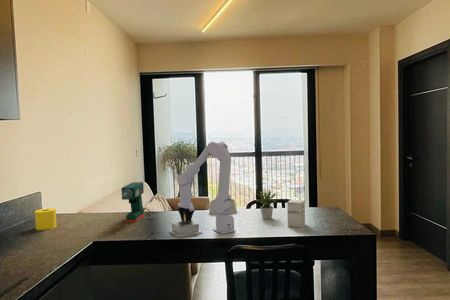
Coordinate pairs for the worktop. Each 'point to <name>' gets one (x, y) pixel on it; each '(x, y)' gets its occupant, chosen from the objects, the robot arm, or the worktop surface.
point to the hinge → (232, 210)
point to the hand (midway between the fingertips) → (186, 222)
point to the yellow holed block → (45, 219)
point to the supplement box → (296, 213)
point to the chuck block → (185, 228)
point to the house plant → (266, 204)
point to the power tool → (134, 200)
